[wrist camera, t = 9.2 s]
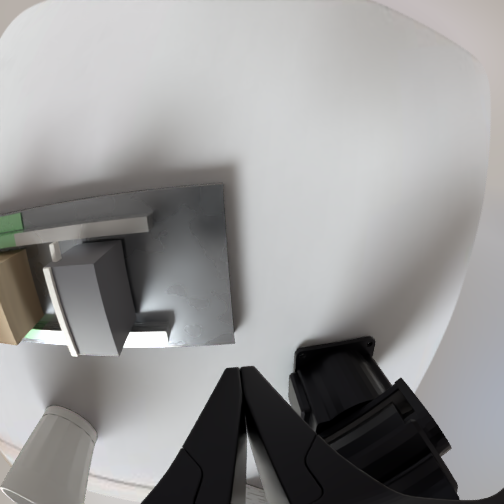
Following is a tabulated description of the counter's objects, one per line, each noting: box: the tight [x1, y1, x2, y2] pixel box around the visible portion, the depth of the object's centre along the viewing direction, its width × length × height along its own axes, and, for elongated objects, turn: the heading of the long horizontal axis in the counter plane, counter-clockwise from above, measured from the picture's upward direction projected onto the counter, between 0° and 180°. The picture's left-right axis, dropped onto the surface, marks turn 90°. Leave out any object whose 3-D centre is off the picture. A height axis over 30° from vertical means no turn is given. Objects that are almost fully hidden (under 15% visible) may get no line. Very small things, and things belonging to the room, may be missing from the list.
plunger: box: [43, 240, 137, 357], centre depth 14 cm, size 3×6×4 cm, turn 3°
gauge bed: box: [0, 183, 235, 347], centre depth 16 cm, size 21×10×2 cm, turn 92°
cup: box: [0, 406, 97, 504], centre depth 16 cm, size 8×8×12 cm
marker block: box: [0, 249, 44, 345], centre depth 13 cm, size 4×5×4 cm
